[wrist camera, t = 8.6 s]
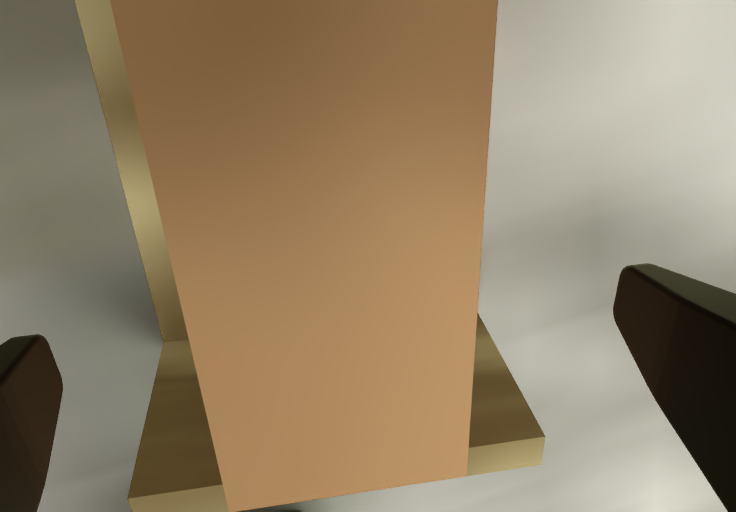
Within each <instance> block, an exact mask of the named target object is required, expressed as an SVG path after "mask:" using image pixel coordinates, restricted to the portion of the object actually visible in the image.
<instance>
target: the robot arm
mask: <svg viewBox="0 0 736 512" xmlns="http://www.w3.org/2000/svg"><path fill="white" fill-rule="evenodd" d="M613 314H614V319H615V322H616V324H617V326H618V328H619V330H620V332H621V334H622V336H623V338H624V340H625V342H626V344H627V346H628V348H629V350H630V352H631V354H632V356H633V358H634V360H635V362H636V364H637V366H638V368H639V370H640V372H641V374H642V376H643V378H644V380H645V382H646V384H647V386H648V387H649V389H650V391H651V393H652V395H653V396H654V398H655V400H656V401H657V403H658V405H659V406H660V408H661V410H662V411H663V413H664V414H665V416H666V417H667V419H668V420H669V422H670V424H671V425H672V427H673V428H674V430H675V431H676V433H677V434H678V436H679V437H680V439H681V440H682V442H683V443H684V445H685V447H686V448H687V450H688V451H689V453H690V454H691V456H692V457H693V459H694V460H695V462H696V463H697V465H698V467H699V468H700V470H701V471H702V473H703V474H704V476H705V477H706V479H707V480H708V482H709V483H710V485H711V486H712V488H713V490H714V491H715V493H716V494H717V496H718V497H719V499H720V500H721V502H722V503H723V505H724V506H725V508H726V510H727V511H728V512H736V294H735V293H732V292H729V291H726V290H723V289H721V288H718V287H715V286H712V285H709V284H707V283H704V282H701V281H698V280H695V279H693V278H690V277H687V276H684V275H681V274H678V273H676V272H673V271H670V270H667V269H664V268H662V267H659V266H656V265H653V264H647V263H645V264H637V265H629V266H626V267H625V268H623V270H622V271H621V274H620V277H619V282H618V287H617V292H616V297H615V302H614V307H613ZM62 392H63V384H62V378H61V375H60V372H59V369H58V367H57V364H56V362H55V359H54V356H53V354H52V351H51V349H50V346H49V344H48V342H47V340H46V339H45V337H43V336H41V335H28V336H20V337H13V338H11V339H9V340H7V341H6V342H4V343H3V344H1V345H0V512H37V509H38V506H39V503H40V499H41V496H42V492H43V489H44V486H45V481H46V476H47V472H48V467H49V462H50V456H51V451H52V446H53V440H54V435H55V430H56V424H57V419H58V414H59V409H60V403H61V398H62Z"/></svg>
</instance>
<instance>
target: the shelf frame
mask: <svg viewBox="0 0 736 512" xmlns="http://www.w3.org/2000/svg"><path fill="white" fill-rule="evenodd" d="M75 4H76V7H77V11H78V15H79V19H80V23H81V27H82V30H83V34H84V38H85V42H86V46H87V50H88V54H89V57H90V61H91V65H92V69H93V73H94V77H95V81H96V84H97V88H98V92H99V96H100V100H101V104H102V108H103V111H104V115H105V119H106V123H107V127H108V131H109V134H110V138H111V142H112V146H113V150H114V154H115V158H116V161H117V165H118V169H119V173H120V177H121V181H122V185H123V188H124V192H125V196H126V200H127V204H128V208H129V212H130V215H131V219H132V223H133V227H134V231H135V235H136V239H137V242H138V246H139V250H140V254H141V258H142V262H143V265H144V269H145V273H146V277H147V281H148V285H149V289H150V292H151V296H152V300H153V304H154V308H155V312H156V316H157V319H158V323H159V327H160V331H161V335H162V339H163V347H162V351H161V356H160V360H159V364H158V369H157V373H156V377H155V381H154V386H153V390H152V394H151V399H150V403H149V407H148V412H147V416H146V420H145V425H144V429H143V433H142V438H141V442H140V446H139V451H138V455H137V459H136V464H135V468H134V472H133V477H132V481H131V485H130V490H129V494H128V498H127V499H128V502H129V505H130V508H131V510H132V512H229V509H228V505H227V501H226V497H225V492H224V488H223V484H222V479H221V475H220V471H219V467H218V462H217V458H216V454H215V449H214V445H213V441H212V436H211V432H210V428H209V424H208V419H207V415H206V411H205V406H204V402H203V398H202V394H201V389H200V385H199V381H198V376H197V372H196V368H195V364H194V359H193V355H192V351H191V346H190V342H189V338H188V334H187V329H186V325H185V321H184V316H183V312H182V308H181V304H180V299H179V295H178V291H177V286H176V282H175V278H174V273H173V269H172V265H171V261H170V256H169V252H168V248H167V243H166V239H165V235H164V231H163V226H162V222H161V218H160V213H159V209H158V205H157V201H156V196H155V192H154V188H153V183H152V179H151V175H150V171H149V166H148V162H147V158H146V153H145V149H144V145H143V140H142V136H141V132H140V128H139V123H138V119H137V115H136V110H135V106H134V102H133V98H132V93H131V89H130V85H129V80H128V76H127V72H126V68H125V63H124V59H123V55H122V50H121V46H120V42H119V38H118V33H117V29H116V25H115V20H114V16H113V12H112V7H111V3H110V0H75ZM544 442H545V435H544V433H543V431H542V430H541V428H540V426H539V424H538V422H537V420H536V419H535V417H534V415H533V413H532V411H531V409H530V408H529V406H528V404H527V402H526V400H525V398H524V397H523V395H522V393H521V391H520V389H519V387H518V386H517V384H516V382H515V380H514V378H513V377H512V375H511V373H510V371H509V369H508V367H507V366H506V364H505V362H504V360H503V358H502V356H501V355H500V353H499V351H498V349H497V347H496V345H495V344H494V342H493V340H492V338H491V336H490V334H489V333H488V331H487V329H486V327H485V325H484V323H483V322H482V320H481V318H480V316H479V314H478V313H477V326H476V341H475V356H474V371H473V387H472V402H471V417H470V432H469V448H468V463H467V476H470V475H477V474H483V473H490V472H496V471H503V470H509V469H516V468H522V467H529V466H535V465H541V461H542V455H543V448H544ZM463 477H464V476H463ZM450 479H451V478H450ZM405 486H406V485H405ZM392 488H393V487H392ZM379 490H380V489H379Z"/></svg>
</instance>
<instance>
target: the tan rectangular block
mask: <svg viewBox="0 0 736 512" xmlns="http://www.w3.org/2000/svg"><path fill="white" fill-rule="evenodd" d="M110 3H111V7H112V12H113V16H114V20H115V25H116V29H117V33H118V38H119V42H120V46H121V50H122V55H123V59H124V63H125V68H126V72H127V76H128V80H129V85H130V89H131V93H132V98H133V102H134V106H135V110H136V115H137V119H138V123H139V128H140V132H141V136H142V140H143V145H144V149H145V153H146V158H147V162H148V166H149V171H150V175H151V179H152V183H153V188H154V192H155V196H156V201H157V205H158V209H159V213H160V218H161V222H162V226H163V231H164V235H165V239H166V243H167V248H168V252H169V256H170V261H171V265H172V269H173V273H174V278H175V282H176V286H177V291H178V295H179V299H180V304H181V308H182V312H183V316H184V321H185V325H186V329H187V334H188V338H189V342H190V346H191V351H192V355H193V359H194V364H195V368H196V372H197V376H198V381H199V385H200V389H201V394H202V398H203V402H204V406H205V411H206V415H207V419H208V424H209V428H210V432H211V436H212V441H213V445H214V449H215V454H216V458H217V462H218V467H219V471H220V475H221V479H222V484H223V488H224V492H225V497H226V501H227V505H228V509H229V512H237V511H244V510H250V509H257V508H263V507H270V506H276V505H283V504H289V503H296V502H302V501H308V500H315V499H321V498H328V497H334V496H341V495H347V494H354V493H360V492H367V491H373V490H379V489H386V488H392V487H399V486H405V485H412V484H418V483H425V482H431V481H438V480H444V479H450V478H457V477H463V476H467V463H468V448H469V432H470V417H471V402H472V387H473V371H474V356H475V341H476V326H477V311H478V295H479V280H480V265H481V250H482V234H483V219H484V204H485V189H486V174H487V158H488V143H489V128H490V113H491V97H492V82H493V67H494V52H495V37H496V21H497V6H498V0H110Z"/></svg>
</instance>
